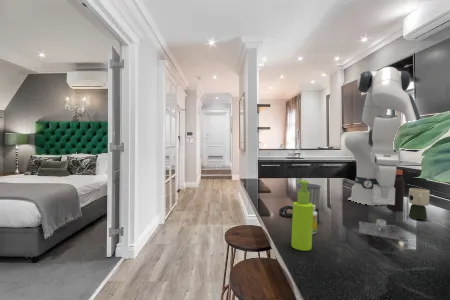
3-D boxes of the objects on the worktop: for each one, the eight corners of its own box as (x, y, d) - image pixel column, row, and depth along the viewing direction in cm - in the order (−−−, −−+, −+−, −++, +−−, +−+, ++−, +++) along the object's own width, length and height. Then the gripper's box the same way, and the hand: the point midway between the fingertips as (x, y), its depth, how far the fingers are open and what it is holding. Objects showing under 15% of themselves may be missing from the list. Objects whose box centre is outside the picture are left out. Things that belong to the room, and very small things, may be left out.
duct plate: (359, 222, 100) (359, 212, 100) (400, 229, 93) (401, 218, 93) (359, 233, 88) (360, 221, 87) (407, 241, 81) (408, 229, 81)
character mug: (405, 214, 114) (407, 186, 114) (425, 217, 110) (427, 188, 110) (409, 220, 105) (410, 190, 104) (430, 223, 101) (432, 192, 101)
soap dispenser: (306, 241, 78) (308, 179, 78) (314, 251, 72) (317, 182, 71) (288, 241, 78) (290, 178, 78) (294, 250, 71) (297, 182, 71)
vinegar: (406, 211, 120) (408, 170, 119) (392, 210, 120) (394, 170, 119) (396, 207, 127) (398, 169, 126) (383, 207, 127) (385, 168, 126)
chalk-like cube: (372, 199, 94) (373, 184, 94) (392, 201, 91) (392, 186, 91) (373, 202, 89) (374, 186, 88) (394, 204, 86) (395, 188, 86)
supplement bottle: (317, 231, 88) (319, 204, 88) (315, 235, 84) (316, 207, 83) (302, 228, 91) (303, 202, 91) (299, 232, 86) (300, 205, 86)
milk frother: (321, 226, 94) (323, 187, 94) (279, 222, 97) (280, 185, 97) (315, 215, 108) (316, 182, 107) (278, 212, 111) (280, 179, 111)
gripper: (373, 157, 100) (371, 191, 100) (377, 159, 82) (375, 200, 82) (391, 158, 97) (390, 193, 97) (400, 160, 79) (398, 202, 79)
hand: (383, 196), depth 90 cm, fingers closed on chalk-like cube, 6 cm apart
